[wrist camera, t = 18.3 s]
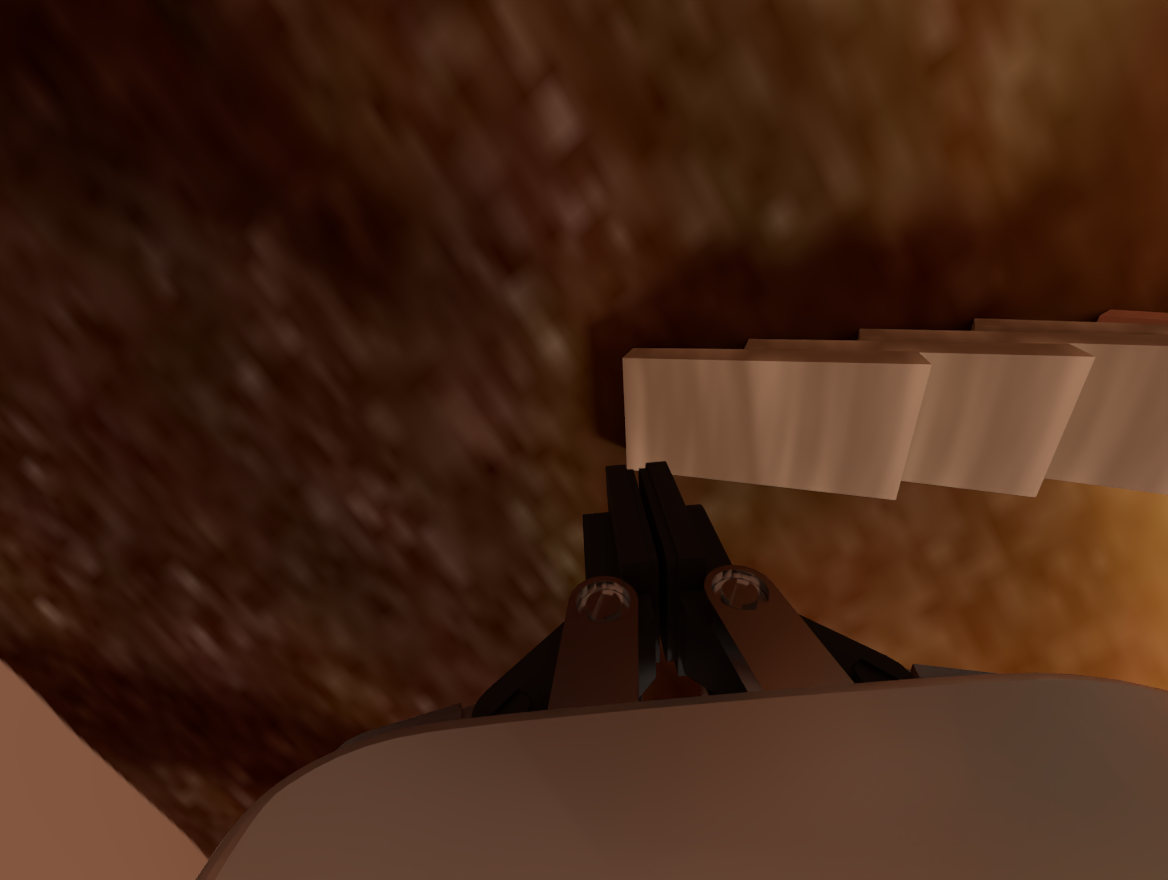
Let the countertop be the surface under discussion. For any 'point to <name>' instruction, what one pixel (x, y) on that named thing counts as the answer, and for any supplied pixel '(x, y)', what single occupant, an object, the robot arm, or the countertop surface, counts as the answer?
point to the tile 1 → (776, 415)
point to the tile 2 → (982, 409)
